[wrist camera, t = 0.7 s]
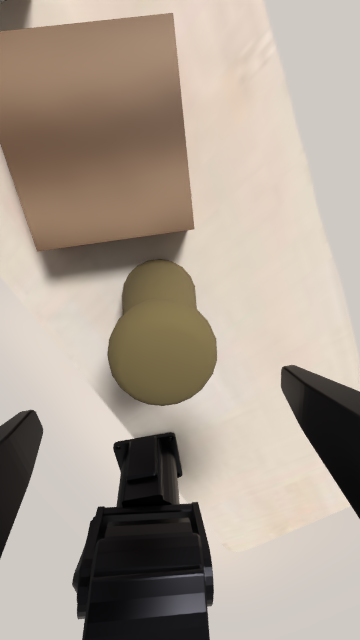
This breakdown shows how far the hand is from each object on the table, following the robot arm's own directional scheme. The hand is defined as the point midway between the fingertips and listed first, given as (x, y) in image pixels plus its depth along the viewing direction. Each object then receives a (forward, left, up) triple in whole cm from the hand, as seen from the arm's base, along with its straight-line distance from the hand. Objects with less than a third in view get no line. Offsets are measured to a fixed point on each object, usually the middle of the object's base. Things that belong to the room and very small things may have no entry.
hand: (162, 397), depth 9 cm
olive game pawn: (0, 0, -13) cm, 13 cm away
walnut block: (+10, +2, -13) cm, 16 cm away
